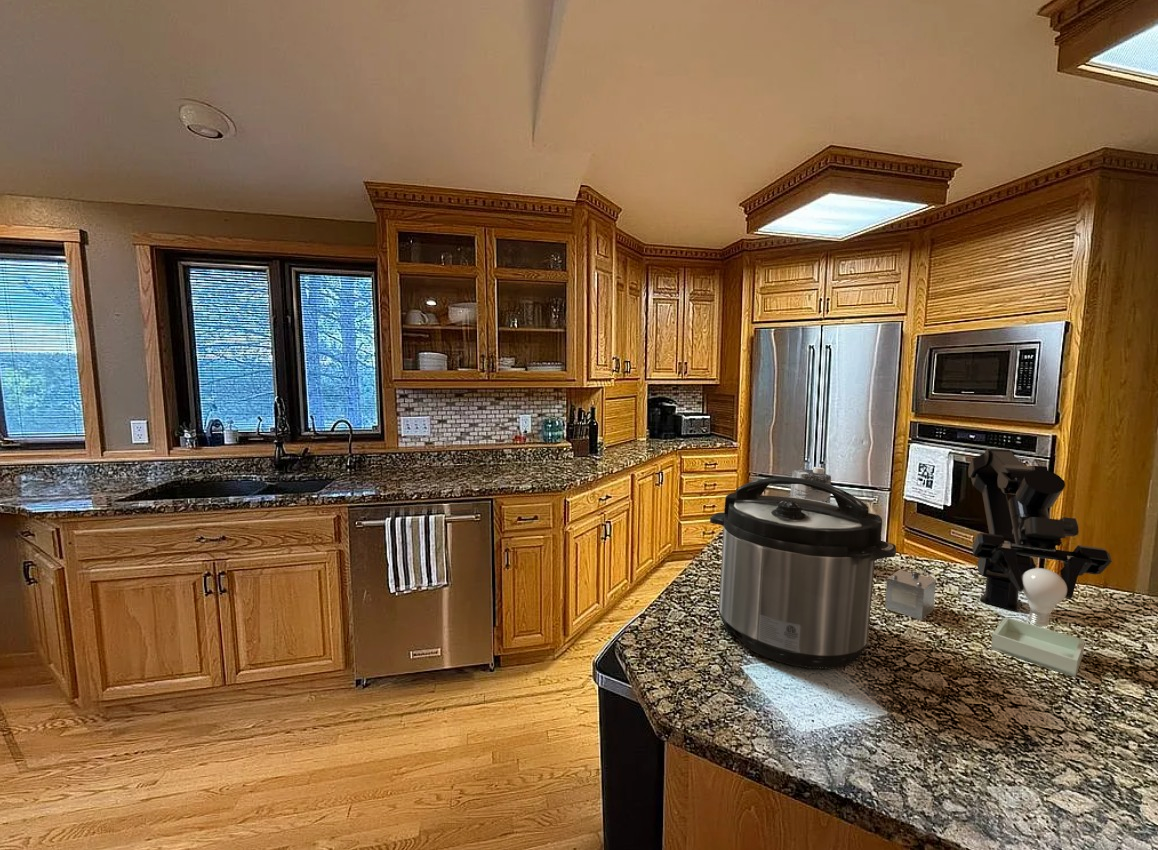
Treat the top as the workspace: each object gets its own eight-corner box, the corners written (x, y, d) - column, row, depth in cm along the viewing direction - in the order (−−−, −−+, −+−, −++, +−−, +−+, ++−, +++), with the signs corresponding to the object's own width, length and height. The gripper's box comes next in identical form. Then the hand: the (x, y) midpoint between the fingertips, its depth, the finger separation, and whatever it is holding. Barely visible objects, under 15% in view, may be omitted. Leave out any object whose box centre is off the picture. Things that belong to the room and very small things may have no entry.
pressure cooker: (916, 662, 86) (929, 489, 83) (793, 695, 76) (804, 501, 73) (789, 594, 114) (796, 463, 111) (688, 611, 104) (693, 468, 101)
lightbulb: (1070, 632, 87) (1078, 575, 86) (1046, 636, 86) (1053, 578, 84) (1030, 615, 93) (1037, 561, 92) (1006, 619, 92) (1013, 564, 91)
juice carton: (795, 565, 132) (800, 469, 130) (785, 552, 143) (789, 463, 140) (829, 567, 131) (835, 471, 129) (816, 554, 141) (821, 464, 139)
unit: (897, 598, 112) (900, 566, 111) (933, 609, 106) (936, 576, 106) (884, 608, 107) (886, 574, 106) (921, 620, 101) (923, 585, 101)
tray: (1004, 630, 97) (1005, 616, 97) (1083, 655, 89) (1084, 640, 88) (991, 649, 90) (992, 633, 90) (1075, 677, 82) (1077, 660, 82)
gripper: (980, 493, 95) (990, 565, 87) (1112, 506, 86) (1137, 587, 78) (968, 521, 103) (976, 590, 94) (1088, 536, 94) (1109, 613, 85)
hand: (1044, 594), depth 88 cm, fingers closed on lightbulb, 6 cm apart
